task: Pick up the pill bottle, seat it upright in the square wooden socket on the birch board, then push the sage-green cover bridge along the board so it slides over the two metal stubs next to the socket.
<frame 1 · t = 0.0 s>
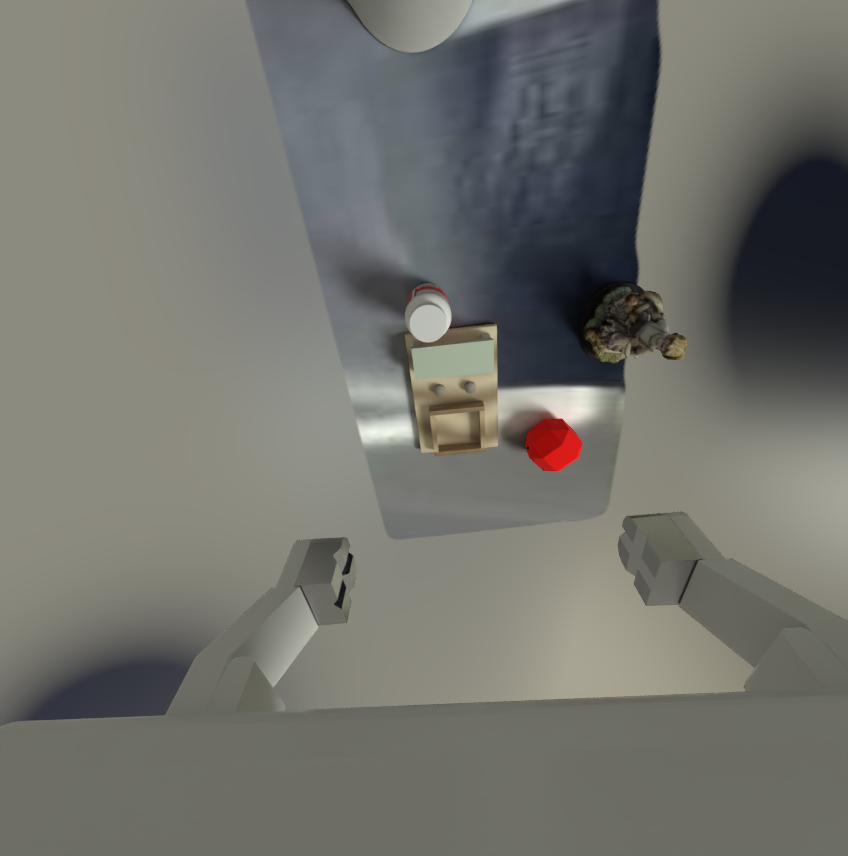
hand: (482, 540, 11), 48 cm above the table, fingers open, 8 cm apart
figurine: (613, 322, 55), on the table
pill bottle: (427, 303, 54), on the table
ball: (546, 432, 65), on the table
housing cover: (452, 356, 55), point 3 cm above the table, slide at 0.0 cm
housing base: (454, 392, 61), on the table
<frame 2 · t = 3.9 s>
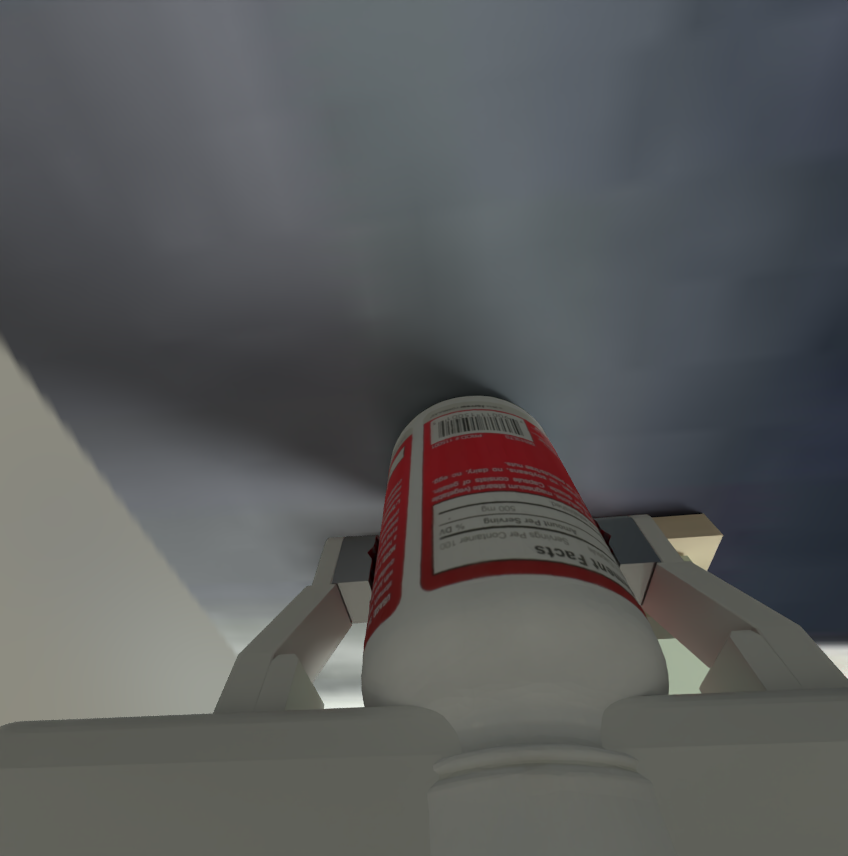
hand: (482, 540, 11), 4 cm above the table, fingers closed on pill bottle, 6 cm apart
pill bottle: (468, 456, 14), on the table, touching gripper
housing cover: (554, 635, 15), point 3 cm above the table, slide at 0.0 cm
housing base: (531, 654, 22), on the table
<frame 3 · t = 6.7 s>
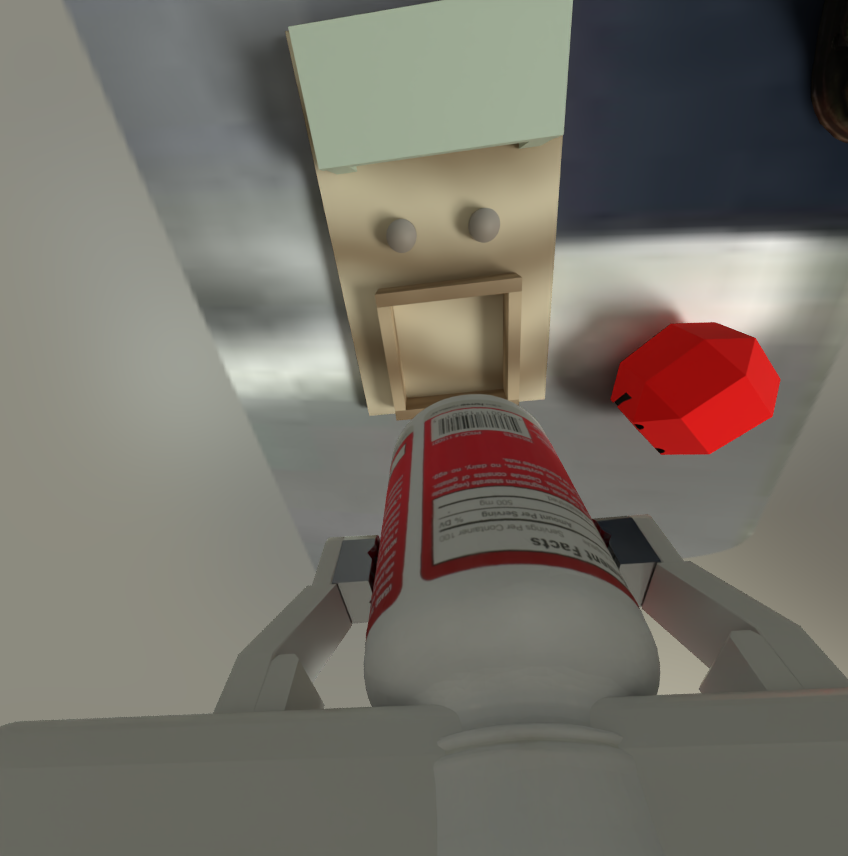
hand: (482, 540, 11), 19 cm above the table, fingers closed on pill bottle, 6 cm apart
pill bottle: (468, 454, 15), point 15 cm above the table, touching gripper
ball: (655, 368, 28), on the table
housing cover: (432, 93, 18), point 3 cm above the table, slide at 0.0 cm
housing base: (443, 254, 24), on the table
when the fingers open (6 cm above the table, at t = 9.9 s): pill bottle stays where it is, resting on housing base.
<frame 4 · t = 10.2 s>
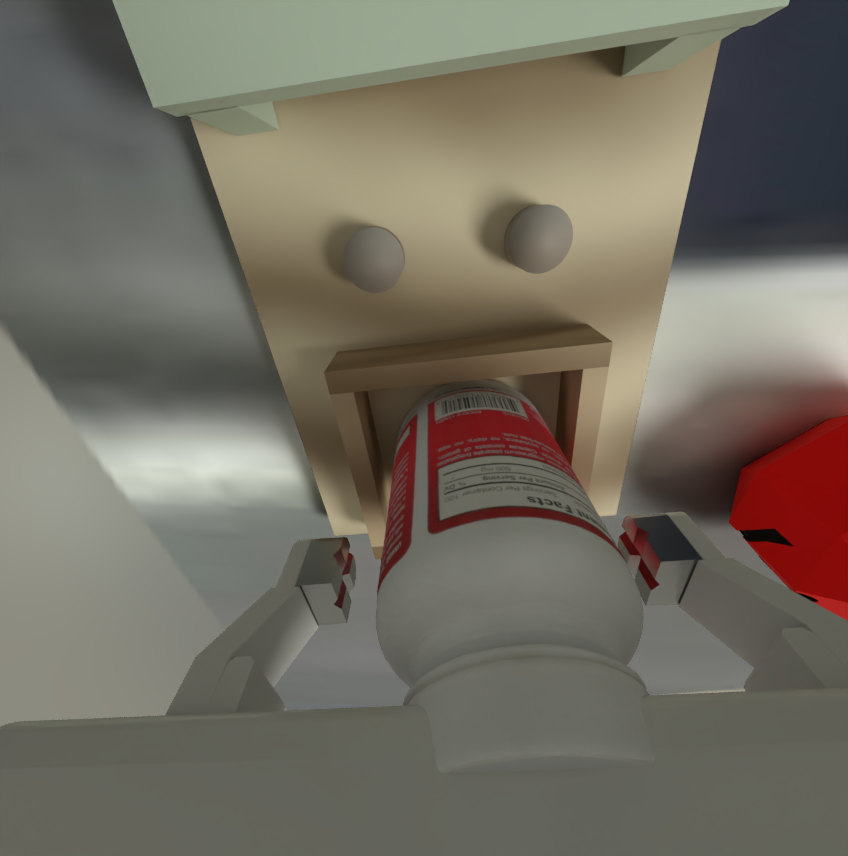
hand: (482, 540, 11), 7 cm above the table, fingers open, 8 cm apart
pill bottle: (469, 438, 15), point 1 cm above the table, touching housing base
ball: (794, 464, 18), on the table
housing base: (454, 290, 13), on the table
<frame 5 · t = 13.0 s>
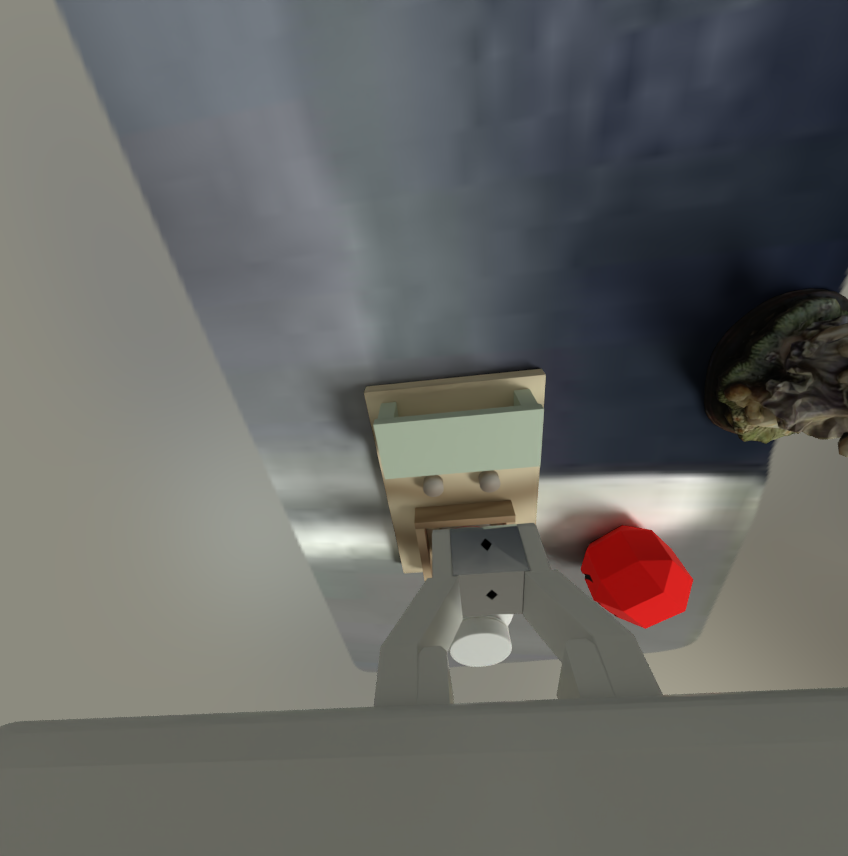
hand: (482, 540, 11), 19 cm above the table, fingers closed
figurine: (770, 367, 28), on the table
pill bottle: (466, 535, 36), point 1 cm above the table, touching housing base
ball: (614, 541, 39), on the table
housing cover: (457, 434, 28), point 3 cm above the table, slide at 0.0 cm
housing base: (460, 483, 34), on the table
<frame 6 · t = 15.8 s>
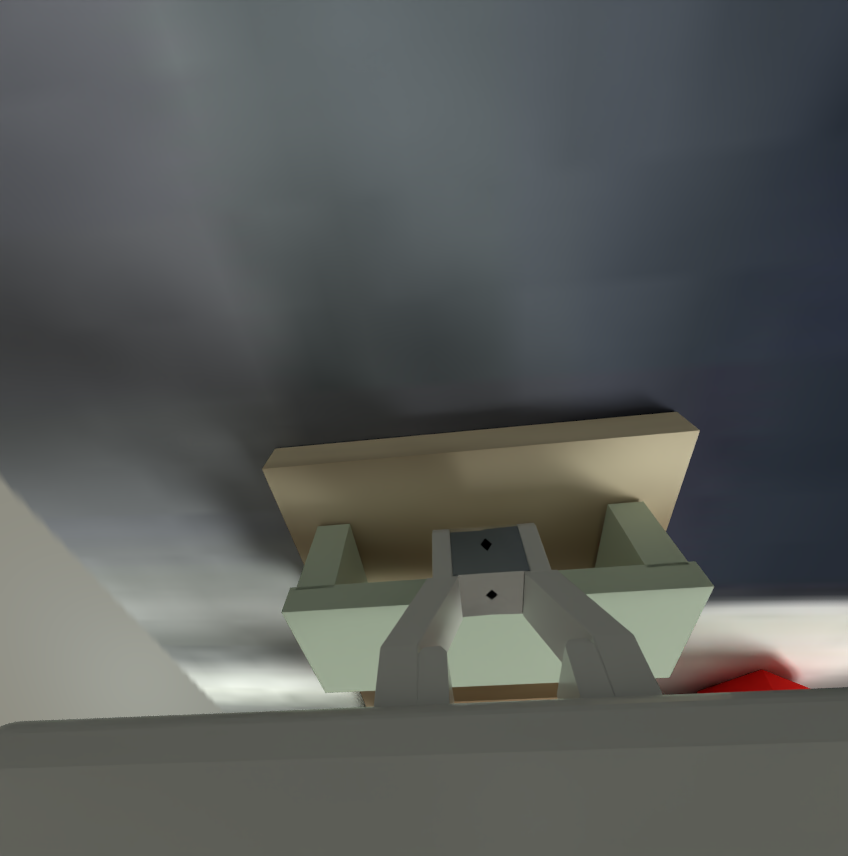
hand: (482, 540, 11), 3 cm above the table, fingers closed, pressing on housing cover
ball: (739, 687, 23), on the table
housing cover: (483, 599, 13), point 3 cm above the table, slide at 1.7 cm, touching gripper
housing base: (479, 613, 18), on the table
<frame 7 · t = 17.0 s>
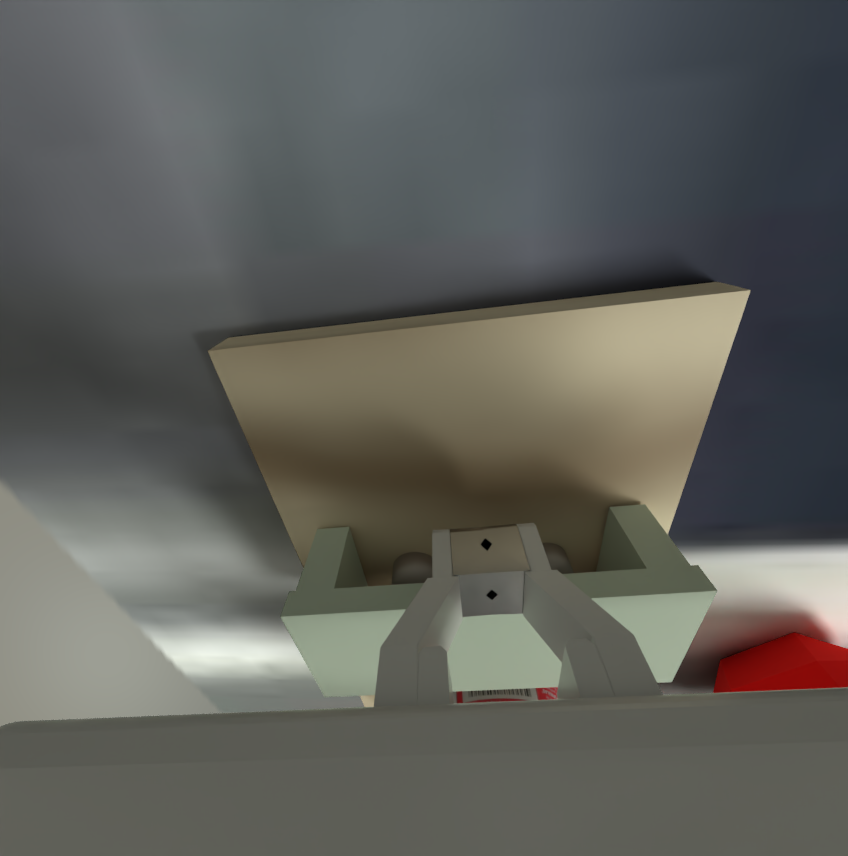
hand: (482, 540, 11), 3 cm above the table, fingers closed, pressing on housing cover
pill bottle: (486, 655, 18), point 1 cm above the table, touching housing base
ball: (766, 655, 20), on the table
housing cover: (484, 602, 13), point 3 cm above the table, slide at 5.9 cm, touching gripper
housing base: (476, 562, 16), on the table
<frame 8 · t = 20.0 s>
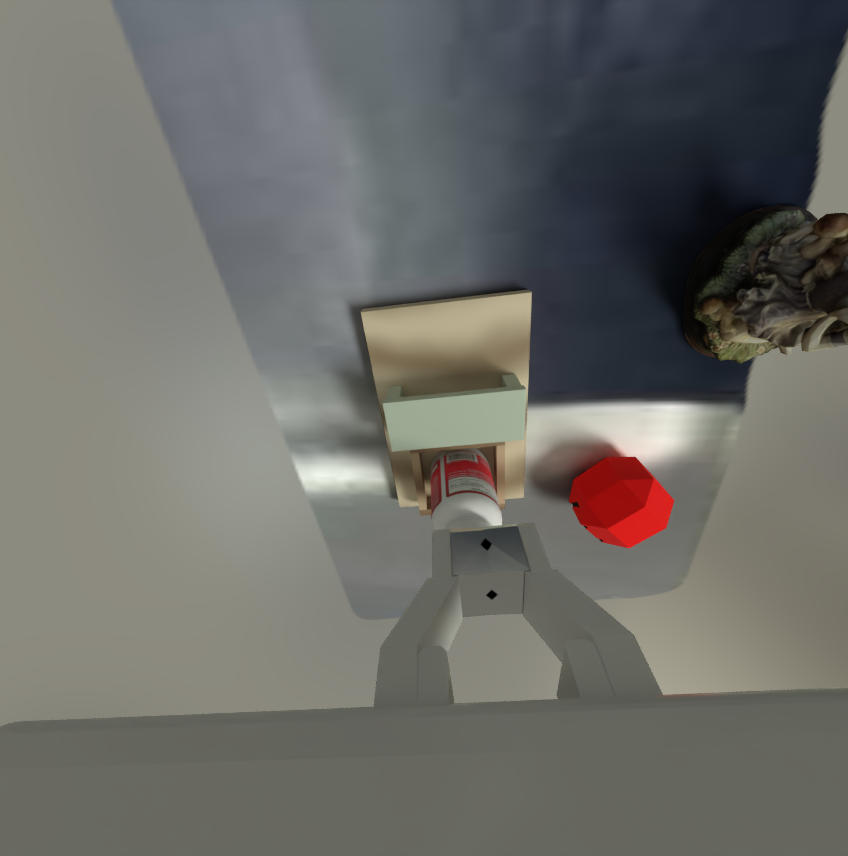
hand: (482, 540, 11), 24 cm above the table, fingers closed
figurine: (744, 288, 30), on the table
pill bottle: (459, 465, 38), point 1 cm above the table, touching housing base
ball: (601, 475, 40), on the table
housing cover: (454, 412, 33), point 3 cm above the table, slide at 5.9 cm
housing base: (453, 412, 36), on the table
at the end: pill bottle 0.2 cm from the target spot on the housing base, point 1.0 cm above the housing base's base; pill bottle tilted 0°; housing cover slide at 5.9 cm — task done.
